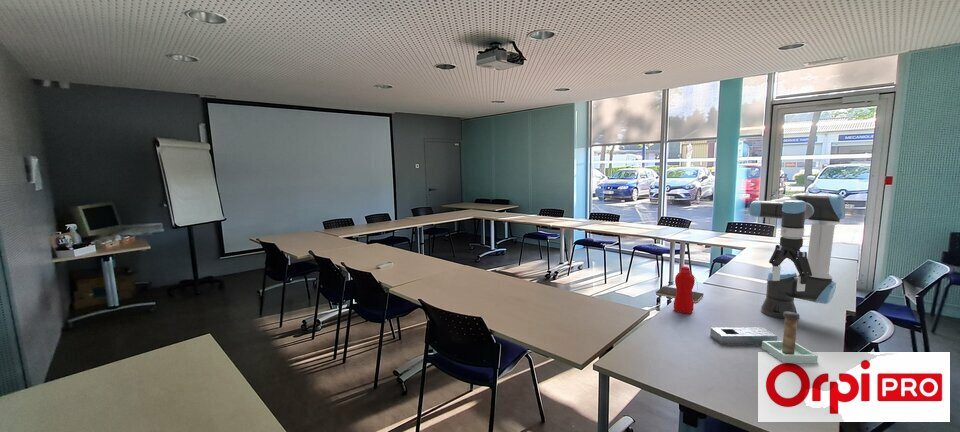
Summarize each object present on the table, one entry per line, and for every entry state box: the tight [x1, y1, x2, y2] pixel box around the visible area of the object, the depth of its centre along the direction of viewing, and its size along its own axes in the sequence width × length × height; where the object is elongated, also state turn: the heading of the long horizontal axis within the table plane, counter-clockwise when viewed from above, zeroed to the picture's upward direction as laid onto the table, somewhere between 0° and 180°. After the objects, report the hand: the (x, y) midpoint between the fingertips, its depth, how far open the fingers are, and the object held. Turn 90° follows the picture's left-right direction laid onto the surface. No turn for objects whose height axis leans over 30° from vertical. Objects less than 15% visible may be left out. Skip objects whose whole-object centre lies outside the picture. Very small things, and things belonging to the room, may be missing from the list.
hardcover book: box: [655, 285, 704, 304], centre depth 235 cm, size 16×23×2 cm
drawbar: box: [709, 326, 778, 346], centre depth 174 cm, size 24×9×4 cm, turn 87°
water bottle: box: [673, 265, 699, 315], centre depth 208 cm, size 9×11×25 cm
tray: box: [761, 340, 819, 364], centre depth 160 cm, size 13×13×3 cm
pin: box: [782, 311, 801, 354], centre depth 159 cm, size 5×5×18 cm
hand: (787, 285), depth 163 cm, fingers open, 13 cm apart
